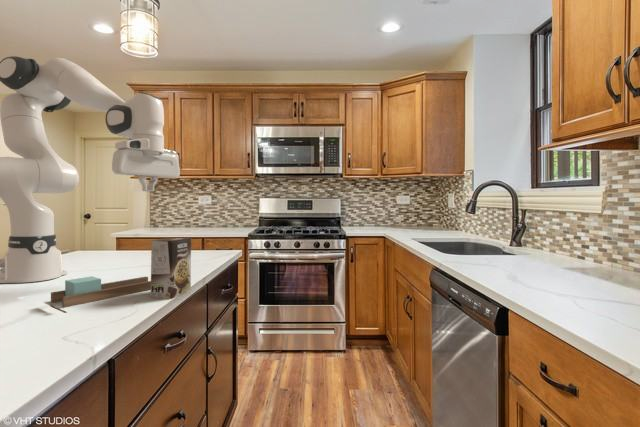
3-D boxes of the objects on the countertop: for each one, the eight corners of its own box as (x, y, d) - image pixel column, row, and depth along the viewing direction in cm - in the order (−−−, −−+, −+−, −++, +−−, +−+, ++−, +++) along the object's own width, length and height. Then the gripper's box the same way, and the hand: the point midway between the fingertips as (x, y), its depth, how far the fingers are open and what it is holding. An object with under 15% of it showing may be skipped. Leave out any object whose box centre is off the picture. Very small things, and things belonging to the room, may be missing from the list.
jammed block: (65, 300, 87) (65, 280, 87) (91, 295, 92) (91, 276, 92) (74, 304, 84) (74, 283, 84) (101, 298, 89) (101, 279, 89)
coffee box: (171, 303, 90) (172, 240, 90) (149, 301, 91) (150, 239, 91) (191, 294, 99) (192, 237, 98) (171, 293, 100) (171, 236, 100)
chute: (50, 306, 86) (50, 292, 86) (145, 287, 106) (145, 276, 106) (64, 312, 81) (64, 297, 81) (161, 292, 101) (161, 280, 101)
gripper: (172, 151, 120) (172, 192, 120) (109, 142, 103) (109, 190, 103) (184, 150, 116) (183, 192, 116) (120, 140, 99) (120, 189, 99)
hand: (148, 191), depth 110 cm, fingers closed
